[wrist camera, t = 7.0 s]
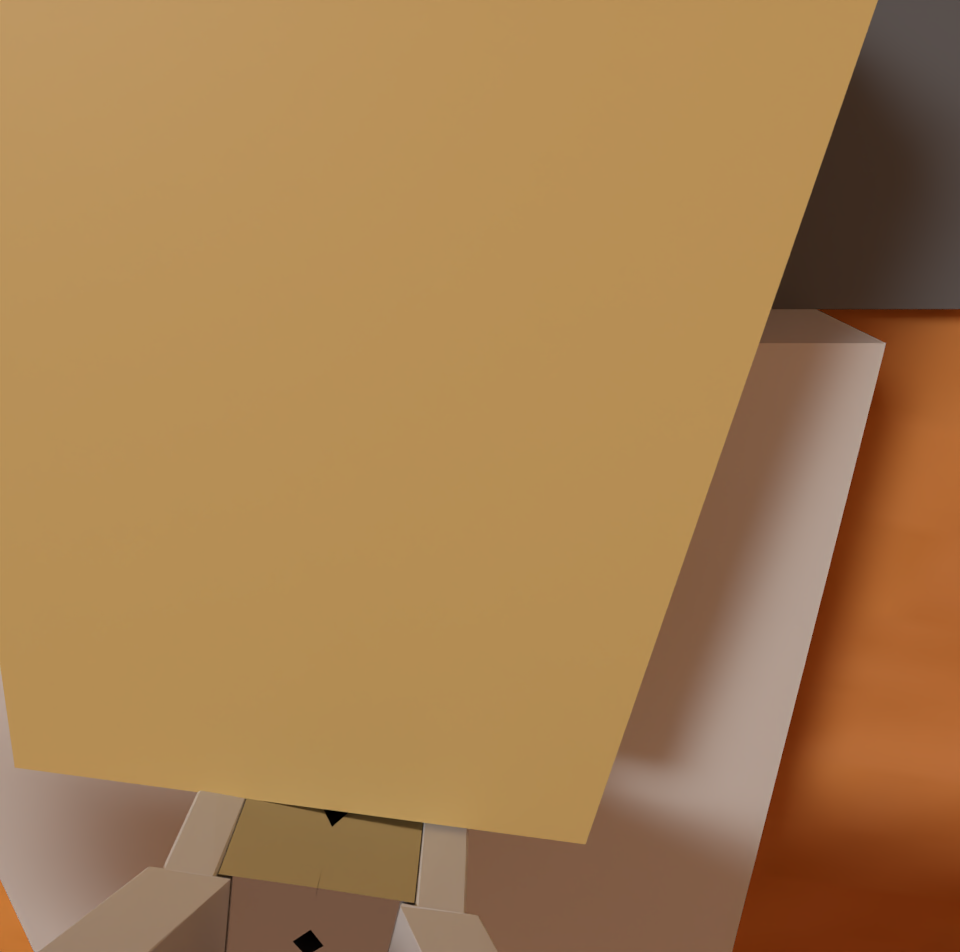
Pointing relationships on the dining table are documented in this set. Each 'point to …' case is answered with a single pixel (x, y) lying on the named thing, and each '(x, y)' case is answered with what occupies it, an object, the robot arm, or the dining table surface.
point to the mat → (888, 174)
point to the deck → (651, 726)
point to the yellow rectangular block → (378, 377)
